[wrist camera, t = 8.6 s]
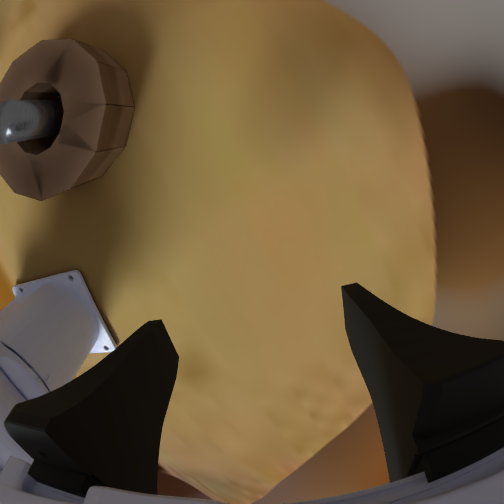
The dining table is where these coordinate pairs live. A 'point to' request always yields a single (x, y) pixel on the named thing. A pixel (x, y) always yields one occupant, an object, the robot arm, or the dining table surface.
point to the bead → (67, 117)
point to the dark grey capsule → (29, 119)
